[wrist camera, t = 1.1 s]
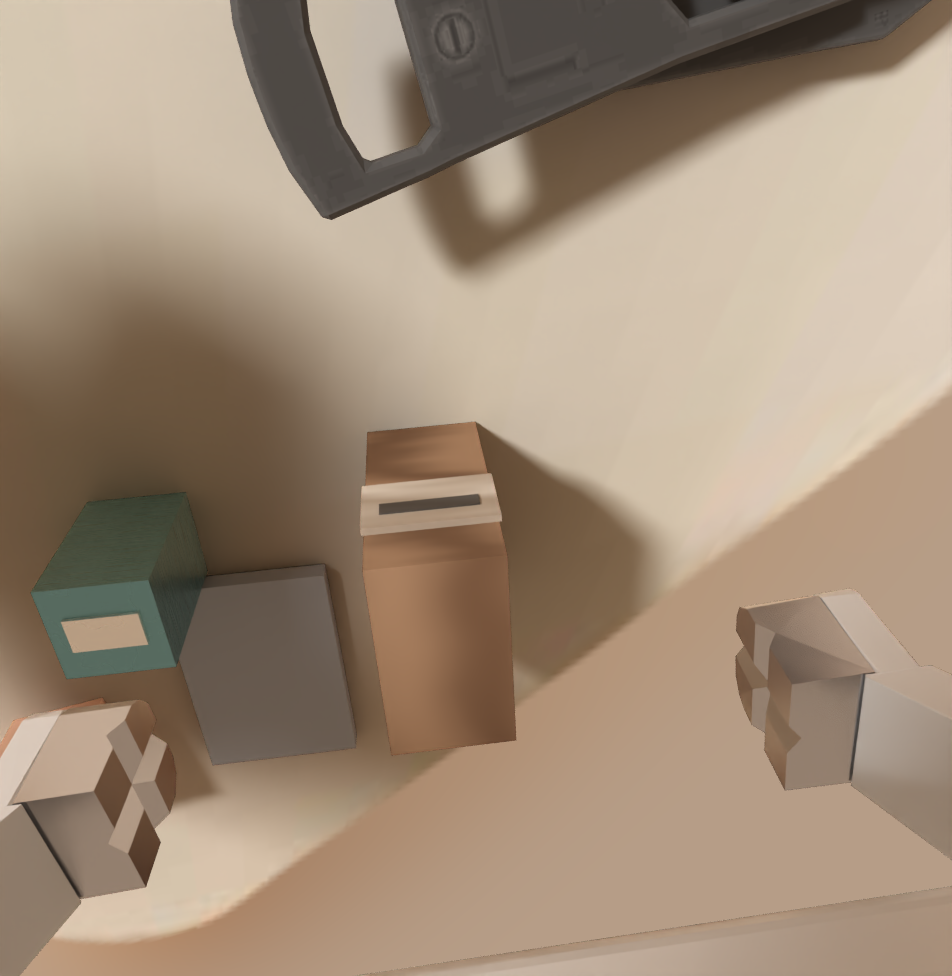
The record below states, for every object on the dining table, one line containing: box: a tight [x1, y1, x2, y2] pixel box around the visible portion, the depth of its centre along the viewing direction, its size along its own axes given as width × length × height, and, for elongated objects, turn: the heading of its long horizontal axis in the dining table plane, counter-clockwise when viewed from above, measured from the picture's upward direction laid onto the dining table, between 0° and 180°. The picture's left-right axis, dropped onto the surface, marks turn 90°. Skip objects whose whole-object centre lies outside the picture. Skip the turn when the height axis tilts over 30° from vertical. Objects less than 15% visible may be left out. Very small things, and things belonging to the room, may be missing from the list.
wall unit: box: [360, 422, 516, 755], centre depth 35 cm, size 5×10×11 cm, turn 3°
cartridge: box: [31, 492, 207, 679], centre depth 35 cm, size 4×4×7 cm
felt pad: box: [179, 564, 357, 765], centre depth 43 cm, size 8×12×1 cm, turn 3°
